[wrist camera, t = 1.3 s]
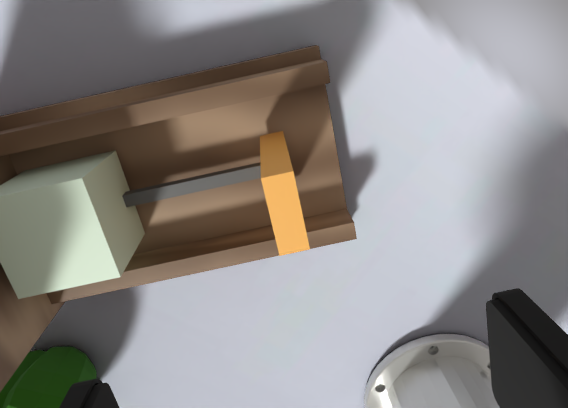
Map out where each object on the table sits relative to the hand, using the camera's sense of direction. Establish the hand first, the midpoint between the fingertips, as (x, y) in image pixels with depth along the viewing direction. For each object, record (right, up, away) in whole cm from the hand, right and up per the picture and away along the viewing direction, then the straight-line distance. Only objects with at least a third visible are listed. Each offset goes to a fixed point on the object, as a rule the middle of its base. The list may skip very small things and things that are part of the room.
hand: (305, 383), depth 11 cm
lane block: (-8, +6, +19) cm, 22 cm away
